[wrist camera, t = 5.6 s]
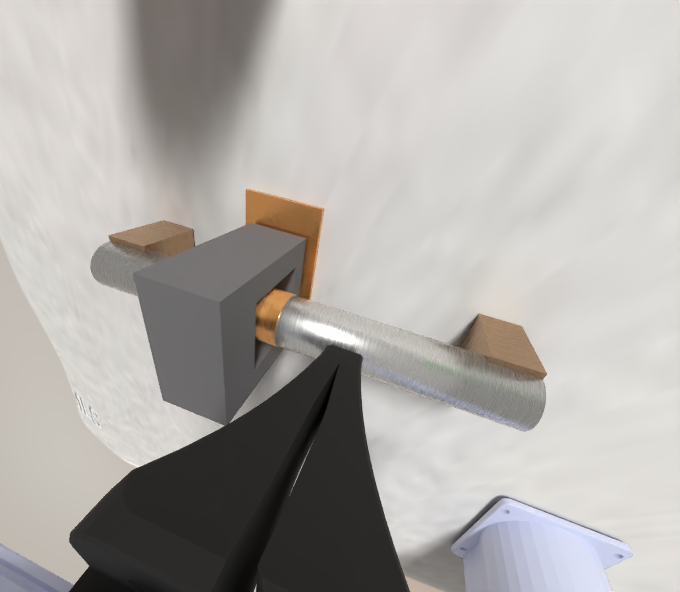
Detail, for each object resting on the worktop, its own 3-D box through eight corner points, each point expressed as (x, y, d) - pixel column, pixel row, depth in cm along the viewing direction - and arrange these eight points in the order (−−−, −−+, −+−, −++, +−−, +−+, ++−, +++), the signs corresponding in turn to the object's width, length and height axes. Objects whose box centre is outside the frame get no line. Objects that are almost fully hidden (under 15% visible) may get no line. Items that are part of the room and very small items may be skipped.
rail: (559, 270, 11) (625, 331, 8) (468, 406, 16) (481, 486, 12) (154, 164, 14) (56, 170, 11) (176, 305, 19) (114, 344, 15)
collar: (306, 238, 13) (219, 302, 8) (295, 332, 16) (226, 426, 11) (251, 222, 14) (132, 273, 8) (250, 317, 17) (163, 400, 11)
